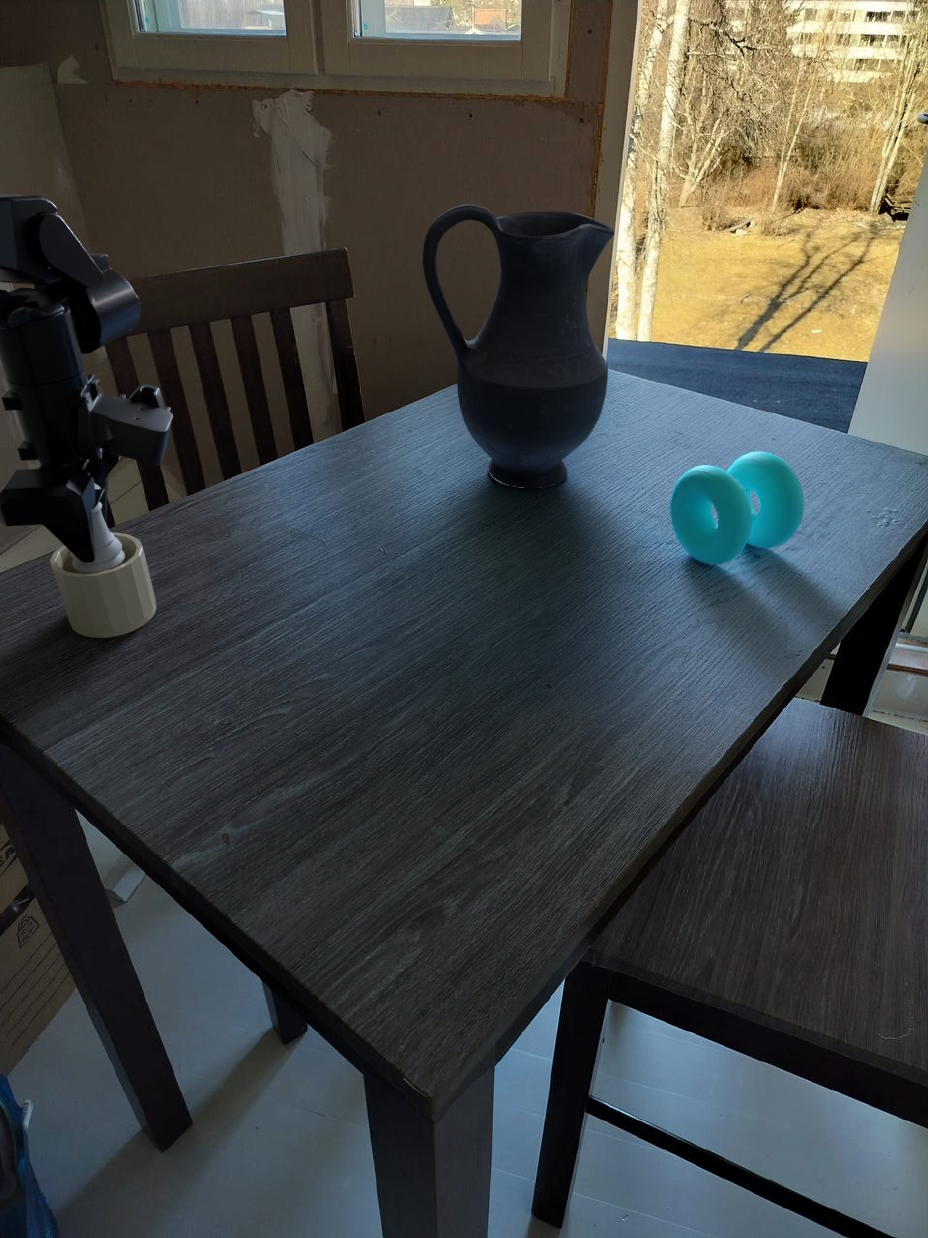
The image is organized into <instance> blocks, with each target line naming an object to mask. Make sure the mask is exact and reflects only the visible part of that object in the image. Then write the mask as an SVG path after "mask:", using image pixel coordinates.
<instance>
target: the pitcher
mask: <svg viewBox="0 0 928 1238" xmlns="http://www.w3.org/2000/svg"><path fill="white" fill-rule="evenodd" d="M464 221H472V222H473V221H474V222H480V223H481V224H483V225H485V226H486V227H487V228H488V229H489V230H490V231H491V233H492V236H493V237H494V239H495V240H494V241H495V242H496V246H497V247H496V248H497V252H498V258H499V267H500V275H499V276H500V278H499V283H498V288H497V291H496V295H495V297H494V300H493V302H492V305H491V308H490V311H489V313H488V315H487V317H486V320H485V321H484V323H483V325H482V327H481V329H480V331H479V332H478V334H477V335H476V336H475V337H474V338H473V339H471V340H467V339H466V338H465V336H464V334H463V332H462V330H461V329H460V326H459V324H458V322H457V321H456V318H455V316H454V313H453V311H452V308H451V307H450V305H449V303H448V300H447V298H446V295H445V292H444V290H443V288H442V285H441V283H440V279H439V274H438V269H437V252H438V249H439V244H440V243H441V242H440V241H441V240H442V238H443V236H444V235H445V234H446V233H447V232H448V231H449V230H450V229H452V228H454V227H455V226H456V225H458V224H460V223H462V222H464ZM613 236H615V229H614V228H613V227H611V226H610V225H608V224H606V223H604V222H602V221H599V220H597V219H594V218H592V217H589V216H586V215H585V214H584V215H583V214H580V213H576V212H570V211H527V212H518V213H517V212H515V213H509V214H503V215H499V216H495V214H494V213H493V212H491V211H490V209H489V208H487V207H484V206H481V205H476V204H462V205H458V206H455V207H452V208H450V209H448V210H446V211H444V212H443V213H441V215H439V216H438V217H437V218H436V219H435V220H434V221H433V222H432V223H431V225H430V226H429V228H428V230H427V232H426V234H425V238H424V242H423V249H422V269H423V275H424V279H425V283H426V287H427V289H428V292H429V296H430V299H431V301H432V304H433V306H434V308H435V310H436V313H437V315H438V317H439V320H440V323H441V324H442V326H443V329H444V331H445V332H446V336H447V337H448V339H449V341H450V344H451V346H452V349H453V351H454V354H455V358H456V363H457V375H456V377H457V379H456V385H457V387H456V388H457V399H458V403H459V409H460V413H461V416H462V419H463V422H464V425H465V427H466V428H467V430H468V432H469V434H470V436H471V437H472V439H473V440H474V442H475V443H476V444H477V445H478V446H479V447H480V448H481V449H482V450H483V451H484V452H485V453H486V455H487V456H488V457H489V458H491V460H490V462H489V463H488V466H489V472H490V473H491V474H492V476H493V477H494V478H496V479H497V480H499V481H501V482H502V483H505V484H508V485H510V486H516V487H524V488H540V487H541V489H543V488H542V487H546V486H550V485H553V484H556V483H558V482H559V483H561V482H562V481H563V480H564V479H565V478H566V477H567V475H568V468H567V466H566V464H565V461H564V459H565V458H566V457H568V456H569V455H570V454H572V453H573V452H575V450H577V449H578V448H579V447H580V446H581V445H582V444H584V442H585V441H587V439H588V438H589V437H590V435H591V434H592V432H593V430H594V429H595V427H596V425H597V423H598V422H599V419H600V416H602V412H603V409H604V404H605V399H606V396H607V389H608V379H609V366H608V363H607V360H605V357H604V356H603V354H602V352H601V351H600V349H599V348H598V347H597V344H596V342H595V340H594V337H593V334H592V331H591V326H590V322H589V318H588V317H589V316H588V311H587V299H586V298H587V297H586V295H587V294H586V289H587V288H586V287H587V283H588V280H589V278H590V274H591V272H592V270H593V268H595V267H594V266H595V264H596V263H597V261H598V260H599V258H600V256H601V254H602V253H603V251H604V249H605V248H606V247H607V245H608V244H609V241H610V240H611V239H612V238H613ZM566 474H567V475H566ZM561 480H562V481H561ZM560 481H561V482H560ZM559 483H558V484H559ZM556 485H557V484H556ZM553 486H554V485H553ZM550 487H551V486H550ZM546 488H547V487H546Z"/></svg>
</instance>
